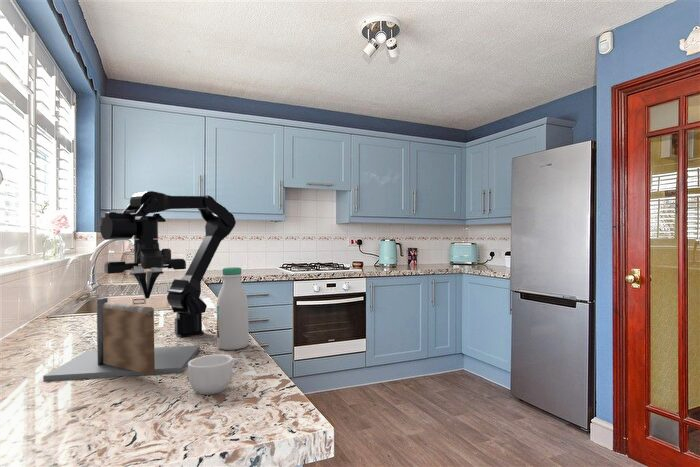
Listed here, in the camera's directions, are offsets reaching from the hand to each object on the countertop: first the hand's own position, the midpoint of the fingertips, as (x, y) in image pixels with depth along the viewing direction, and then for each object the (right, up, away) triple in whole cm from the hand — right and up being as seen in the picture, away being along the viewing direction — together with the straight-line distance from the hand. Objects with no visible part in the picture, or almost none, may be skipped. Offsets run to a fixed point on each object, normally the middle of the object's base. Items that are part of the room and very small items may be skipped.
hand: (147, 298), depth 110 cm
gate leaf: (+8, -10, -25) cm, 28 cm away
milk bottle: (+24, -12, -4) cm, 27 cm away
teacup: (+29, -12, -33) cm, 46 cm away
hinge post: (+1, -11, -21) cm, 23 cm away
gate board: (+5, -12, -17) cm, 21 cm away
